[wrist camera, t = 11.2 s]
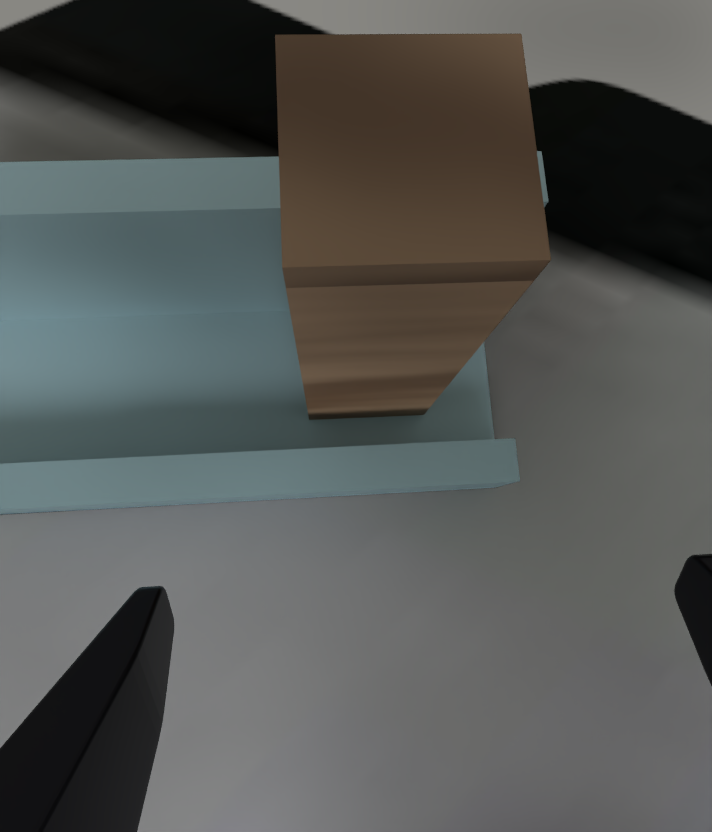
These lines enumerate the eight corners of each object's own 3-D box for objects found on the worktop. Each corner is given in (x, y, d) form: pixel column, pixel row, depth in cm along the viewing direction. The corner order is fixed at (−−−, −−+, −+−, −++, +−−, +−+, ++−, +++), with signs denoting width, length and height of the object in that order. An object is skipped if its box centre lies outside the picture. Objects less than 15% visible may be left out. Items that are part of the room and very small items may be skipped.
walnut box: (423, 414, 22) (550, 260, 10) (309, 420, 22) (282, 267, 9) (415, 307, 23) (520, 33, 10) (305, 311, 23) (275, 34, 10)
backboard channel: (494, 487, 22) (584, 464, 15) (-28, 515, 21) (-237, 507, 13) (472, 274, 24) (541, 151, 16) (-11, 289, 23) (-186, 165, 15)
